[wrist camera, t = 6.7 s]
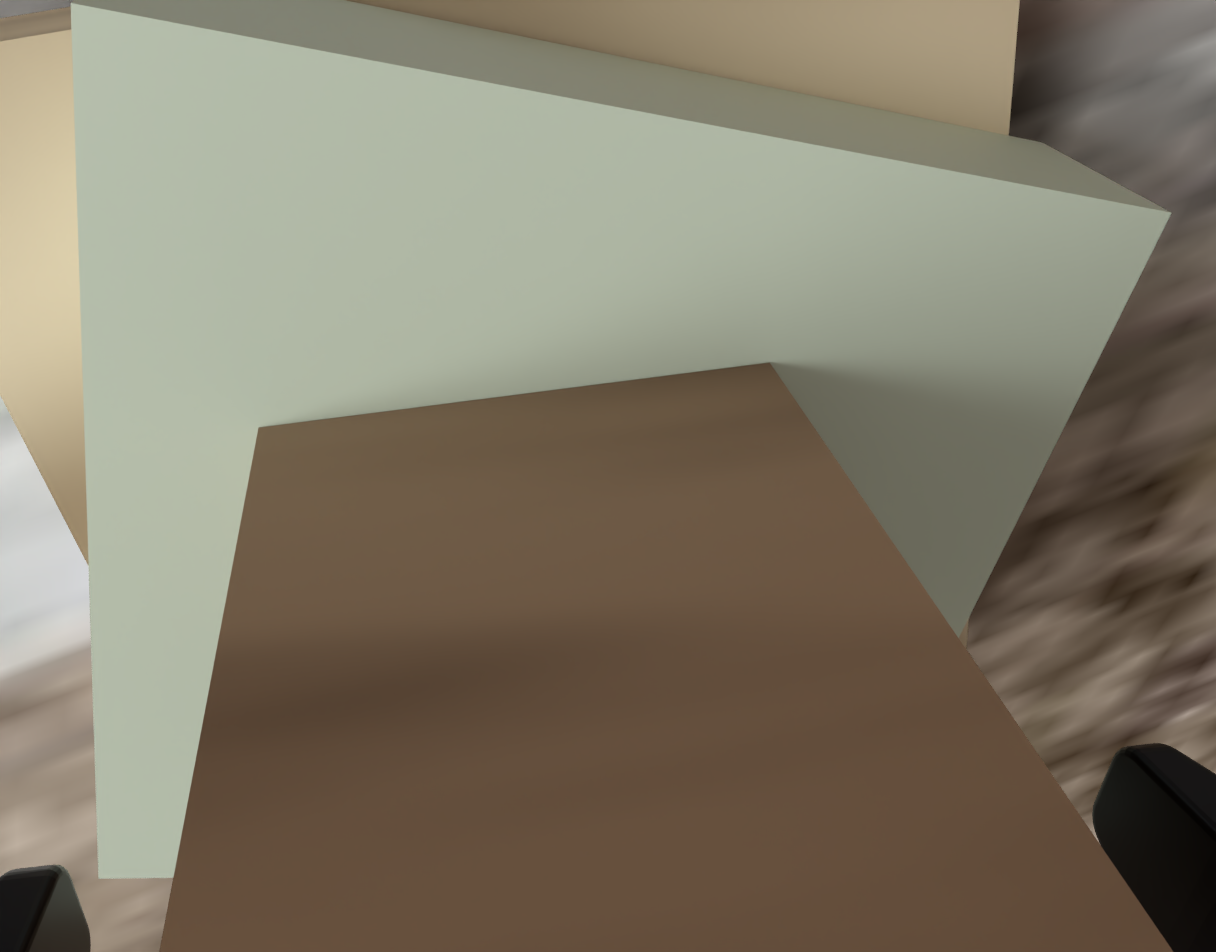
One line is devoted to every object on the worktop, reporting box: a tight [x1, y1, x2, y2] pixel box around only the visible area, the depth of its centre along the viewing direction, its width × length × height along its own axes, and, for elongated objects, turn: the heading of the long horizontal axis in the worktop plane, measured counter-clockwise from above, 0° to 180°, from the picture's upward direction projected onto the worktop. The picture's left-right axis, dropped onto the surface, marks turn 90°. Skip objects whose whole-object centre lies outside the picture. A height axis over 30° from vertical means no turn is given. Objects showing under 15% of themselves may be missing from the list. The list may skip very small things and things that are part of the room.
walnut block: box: [159, 363, 1173, 952], centre depth 9 cm, size 5×5×7 cm
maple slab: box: [0, 0, 1020, 648], centre depth 15 cm, size 12×12×2 cm
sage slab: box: [71, 0, 1171, 879], centre depth 13 cm, size 10×10×2 cm
